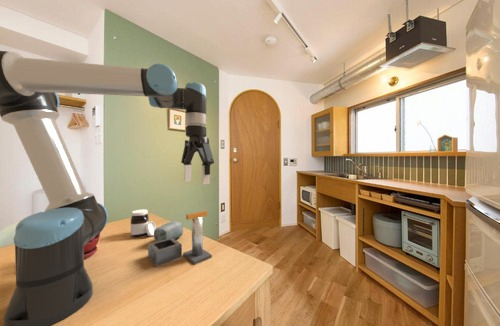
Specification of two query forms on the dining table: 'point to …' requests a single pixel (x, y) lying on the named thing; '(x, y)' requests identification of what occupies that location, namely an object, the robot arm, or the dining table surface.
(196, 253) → the chuck key
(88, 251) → the plant pot
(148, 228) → the spread jar
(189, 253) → the rest mat
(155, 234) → the spool
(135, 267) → the dining table surface
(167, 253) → the block
